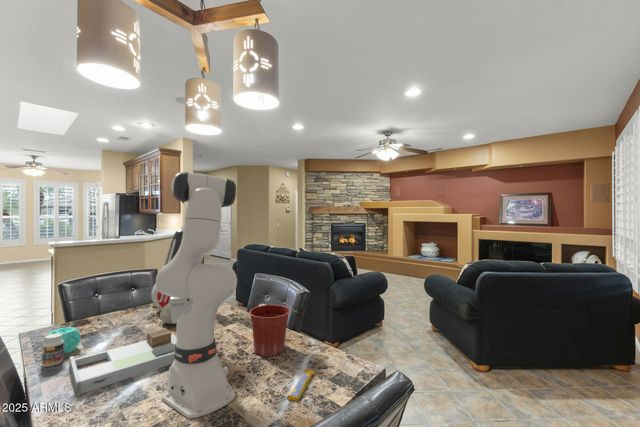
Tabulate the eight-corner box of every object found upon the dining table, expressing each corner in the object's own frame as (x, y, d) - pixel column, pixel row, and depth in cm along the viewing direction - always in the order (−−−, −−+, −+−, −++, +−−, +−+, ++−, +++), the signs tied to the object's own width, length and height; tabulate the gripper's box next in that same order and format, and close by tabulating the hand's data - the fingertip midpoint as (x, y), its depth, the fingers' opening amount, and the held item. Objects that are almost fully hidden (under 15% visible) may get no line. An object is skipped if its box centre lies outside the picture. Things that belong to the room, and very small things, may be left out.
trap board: (192, 357, 109) (192, 347, 109) (76, 395, 85) (76, 382, 85) (172, 339, 125) (172, 330, 125) (69, 367, 101) (69, 356, 101)
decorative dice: (80, 347, 116) (81, 327, 116) (61, 356, 108) (61, 335, 109) (62, 346, 117) (63, 326, 117) (42, 355, 109) (42, 334, 109)
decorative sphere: (155, 318, 150) (156, 280, 151) (147, 308, 165) (148, 274, 166) (194, 310, 163) (195, 275, 164) (184, 302, 178) (184, 270, 179)
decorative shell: (187, 313, 159) (187, 295, 159) (205, 320, 148) (206, 301, 148) (153, 322, 144) (153, 303, 144) (171, 331, 134) (171, 310, 134)
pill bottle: (44, 368, 100) (45, 340, 100) (39, 364, 103) (40, 336, 103) (65, 362, 104) (66, 334, 105) (60, 357, 108) (61, 331, 108)
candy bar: (298, 405, 83) (298, 398, 83) (285, 402, 84) (285, 396, 84) (315, 375, 99) (315, 369, 99) (303, 373, 100) (303, 367, 100)
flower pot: (240, 350, 116) (241, 310, 116) (272, 338, 128) (273, 302, 128) (264, 364, 105) (265, 320, 105) (297, 349, 117) (298, 310, 117)
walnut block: (171, 342, 116) (171, 332, 116) (151, 348, 111) (152, 337, 111) (165, 337, 121) (165, 327, 121) (146, 342, 116) (146, 332, 116)
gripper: (184, 287, 133) (184, 316, 133) (167, 301, 113) (167, 335, 113) (198, 286, 134) (198, 316, 134) (184, 300, 114) (184, 335, 114)
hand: (184, 325), depth 124 cm, fingers closed
